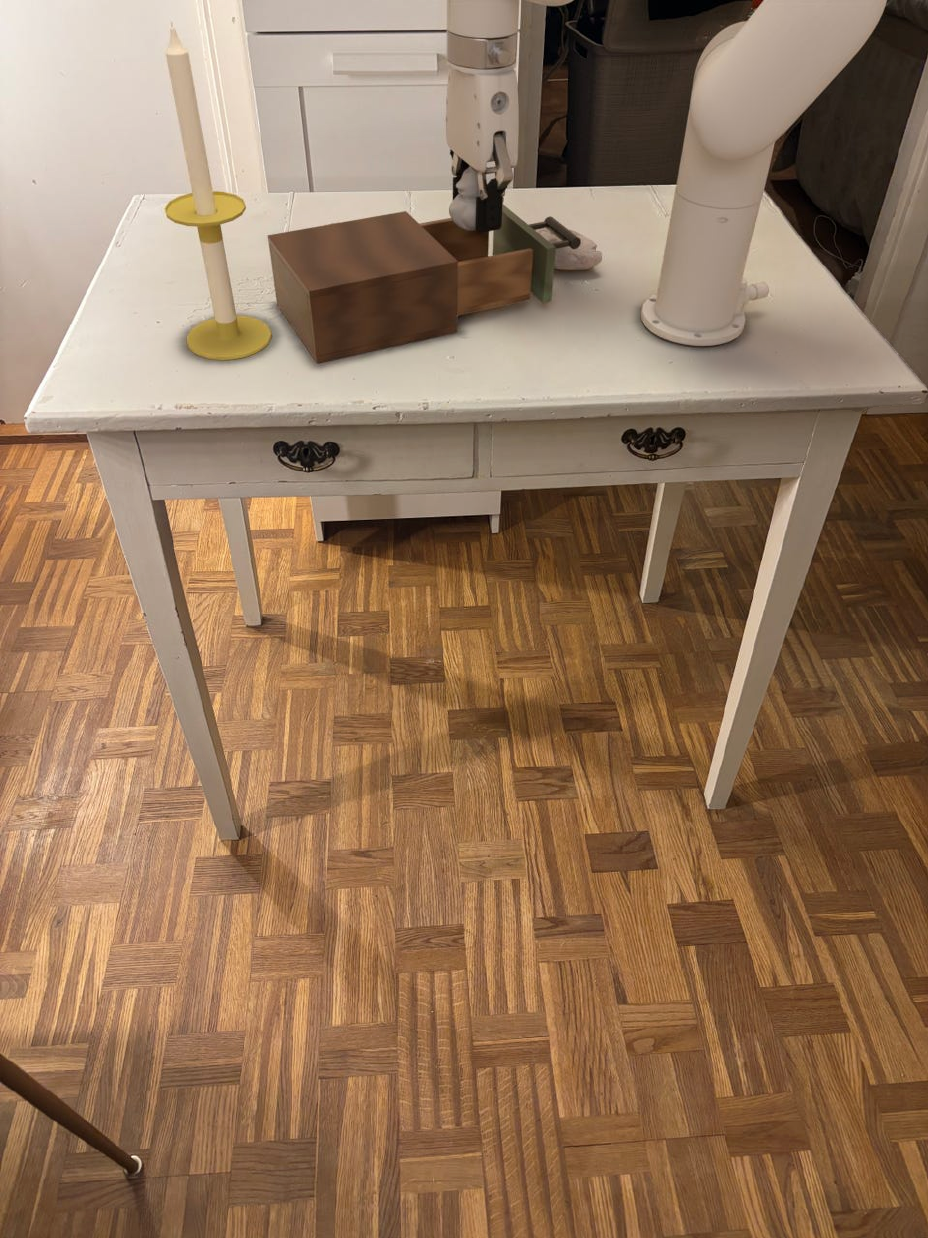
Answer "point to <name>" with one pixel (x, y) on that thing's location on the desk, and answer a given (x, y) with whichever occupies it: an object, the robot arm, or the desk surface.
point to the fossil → (574, 252)
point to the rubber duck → (466, 200)
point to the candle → (208, 227)
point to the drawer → (502, 260)
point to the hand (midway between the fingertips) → (476, 218)
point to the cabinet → (364, 285)
